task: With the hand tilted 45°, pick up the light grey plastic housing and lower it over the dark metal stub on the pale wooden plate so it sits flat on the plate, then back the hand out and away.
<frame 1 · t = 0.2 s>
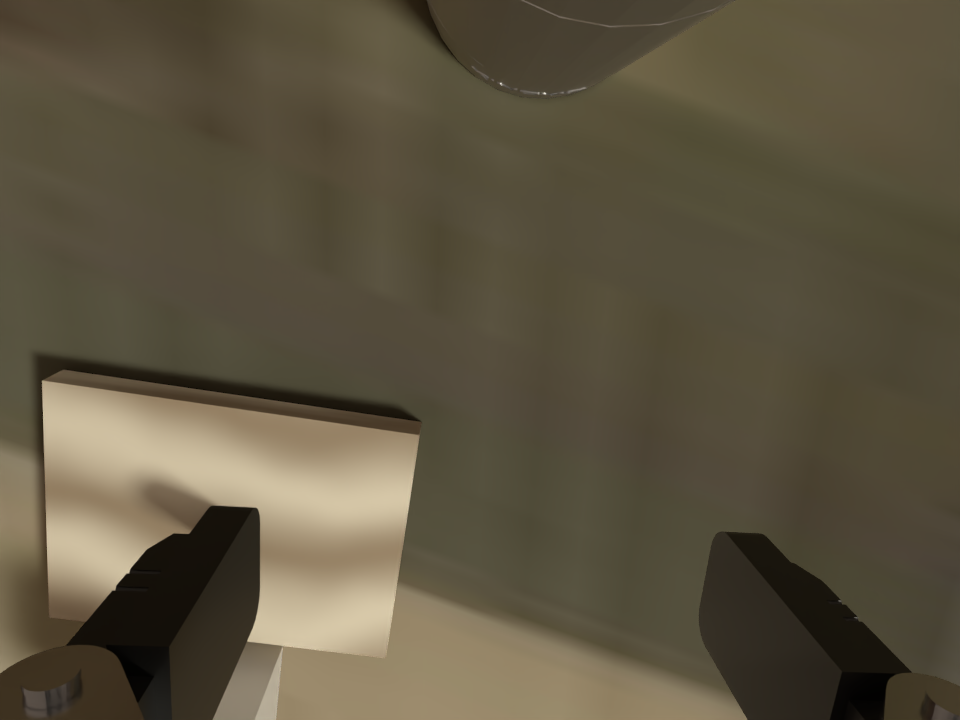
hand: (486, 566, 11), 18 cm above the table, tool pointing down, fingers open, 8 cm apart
stub plate: (238, 512, 31), on the table
housing: (227, 681, 34), on the table
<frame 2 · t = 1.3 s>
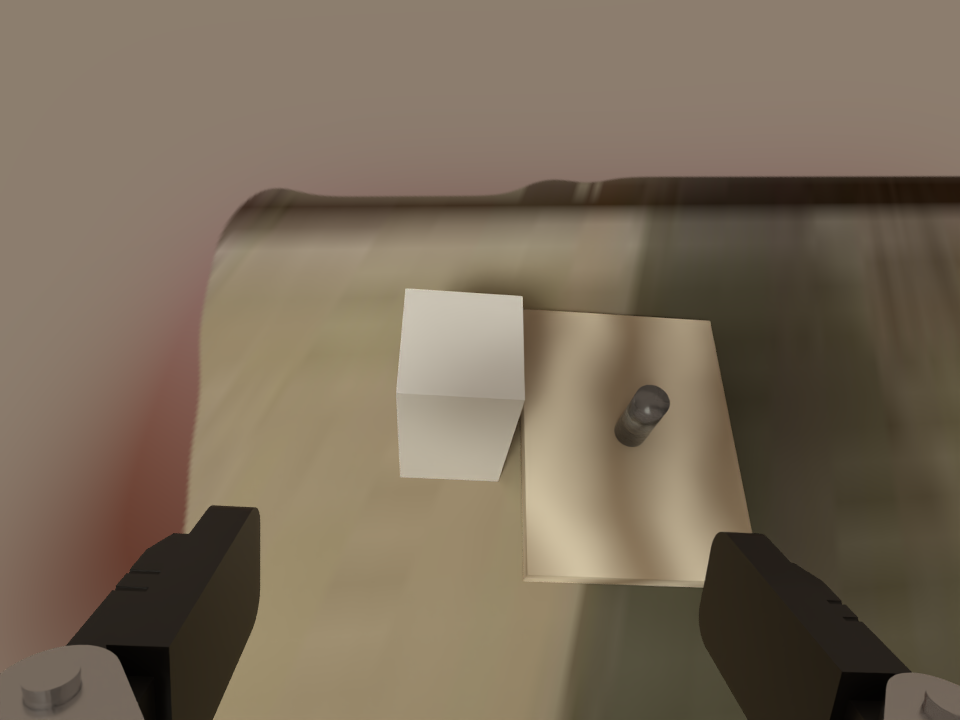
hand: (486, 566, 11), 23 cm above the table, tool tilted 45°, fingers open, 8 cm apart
stub plate: (622, 442, 38), on the table
housing: (451, 434, 37), on the table
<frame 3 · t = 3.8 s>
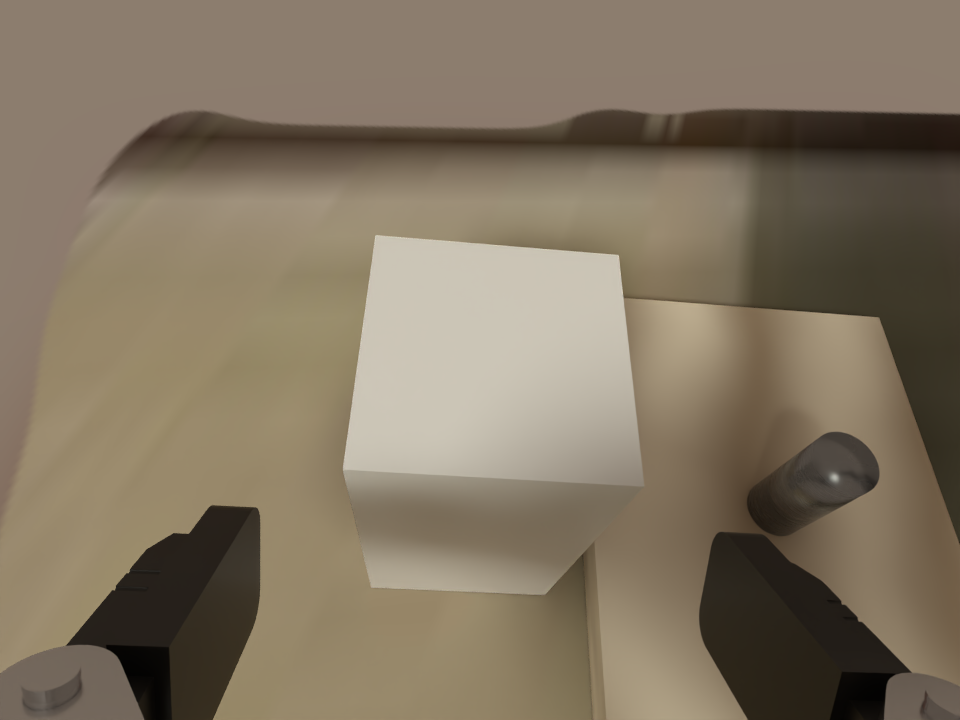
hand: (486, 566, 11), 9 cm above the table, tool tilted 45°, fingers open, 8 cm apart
stub plate: (753, 521, 22), on the table
housing: (462, 506, 21), on the table
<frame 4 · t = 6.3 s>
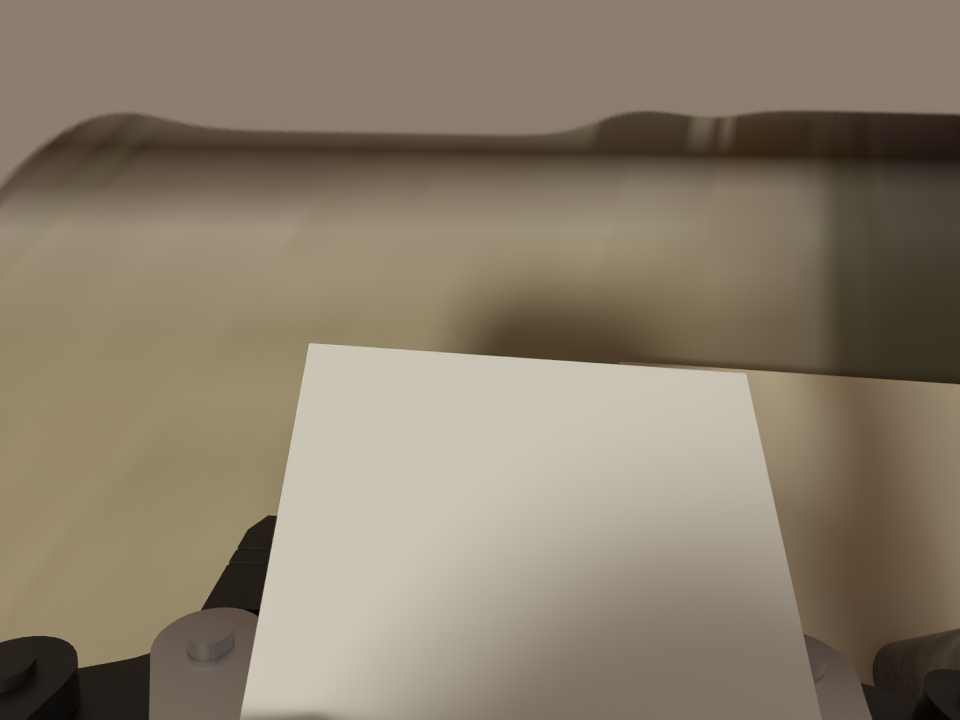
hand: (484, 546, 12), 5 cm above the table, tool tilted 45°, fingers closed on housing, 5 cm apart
stub plate: (871, 689, 16), on the table
housing: (463, 676, 15), on the table, touching gripper
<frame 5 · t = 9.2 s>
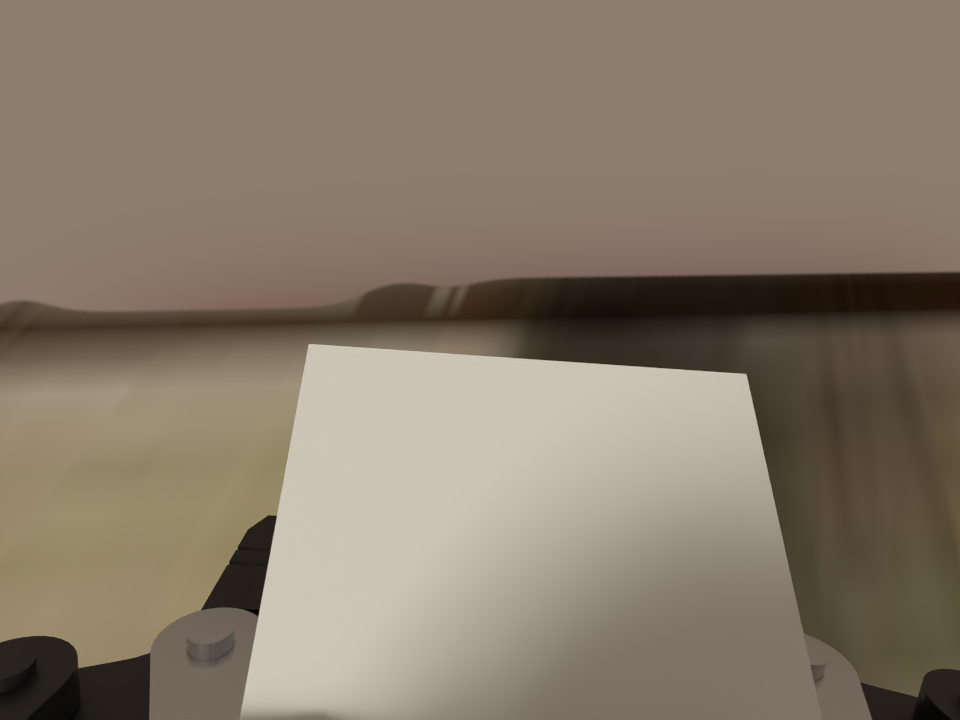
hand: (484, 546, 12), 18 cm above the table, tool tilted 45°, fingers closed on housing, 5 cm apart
housing: (463, 677, 15), point 13 cm above the table, touching gripper
when the fingers open (7 cm above the table, at t = 12.4 s): housing stays where it is, resting on stub plate.
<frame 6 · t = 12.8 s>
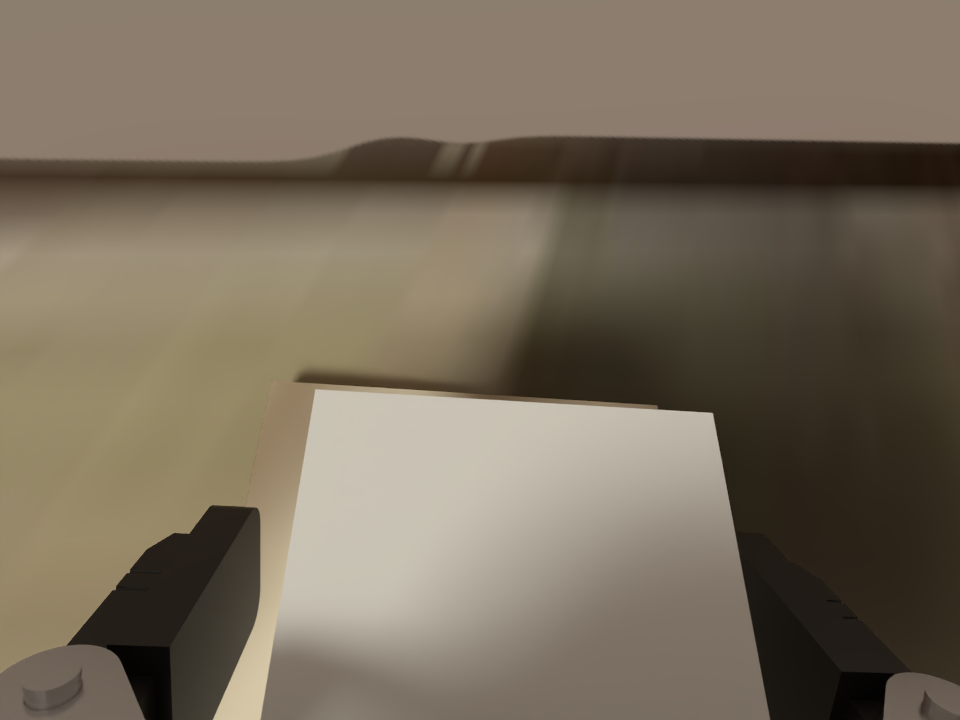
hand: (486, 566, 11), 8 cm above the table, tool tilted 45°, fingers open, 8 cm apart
stub plate: (455, 685, 17), on the table
housing: (459, 683, 16), point 1 cm above the table, touching stub plate
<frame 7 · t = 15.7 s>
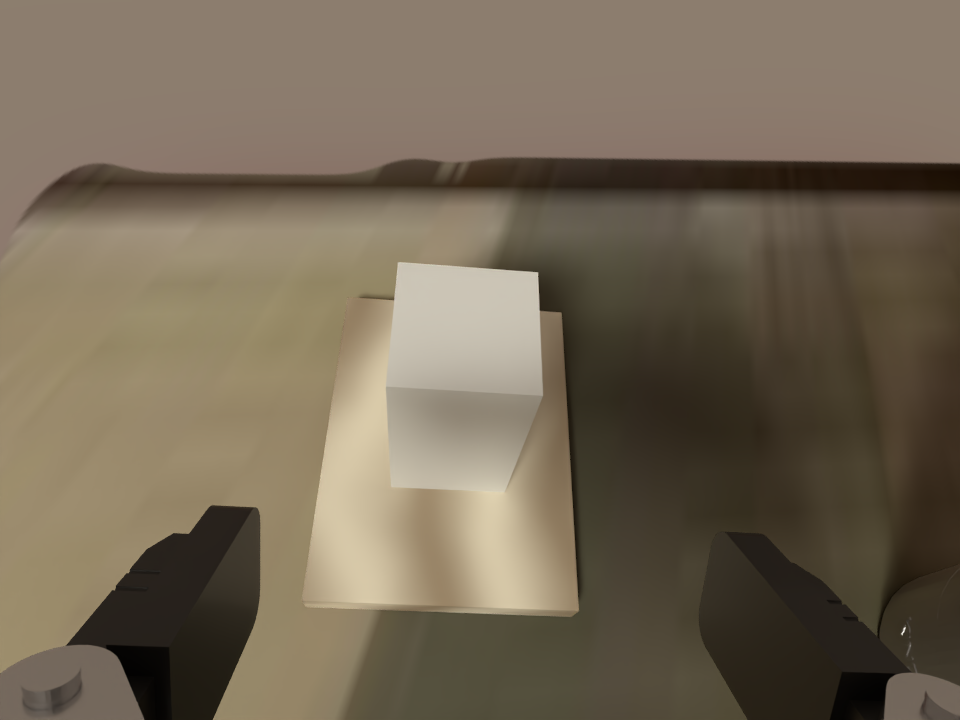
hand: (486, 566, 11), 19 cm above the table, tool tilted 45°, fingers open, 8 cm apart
stub plate: (448, 448, 33), on the table
housing: (450, 437, 32), point 1 cm above the table, touching stub plate
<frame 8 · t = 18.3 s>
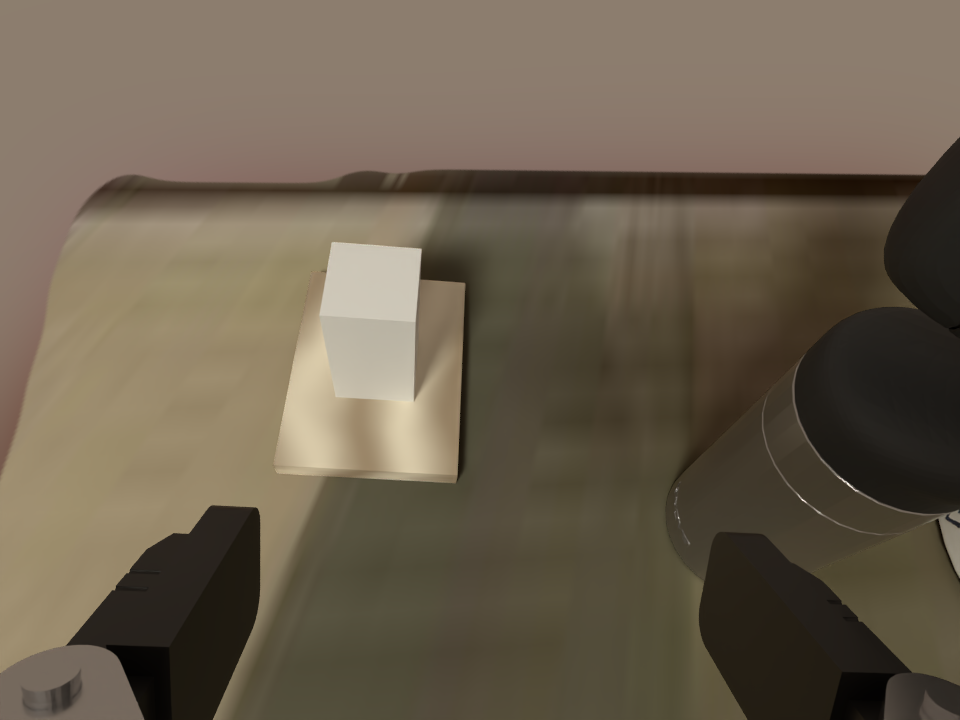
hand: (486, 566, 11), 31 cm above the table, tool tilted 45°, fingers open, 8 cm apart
stub plate: (379, 375, 48), on the table
housing: (378, 366, 46), point 1 cm above the table, touching stub plate
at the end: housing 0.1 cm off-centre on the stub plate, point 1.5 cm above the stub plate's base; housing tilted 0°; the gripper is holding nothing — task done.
